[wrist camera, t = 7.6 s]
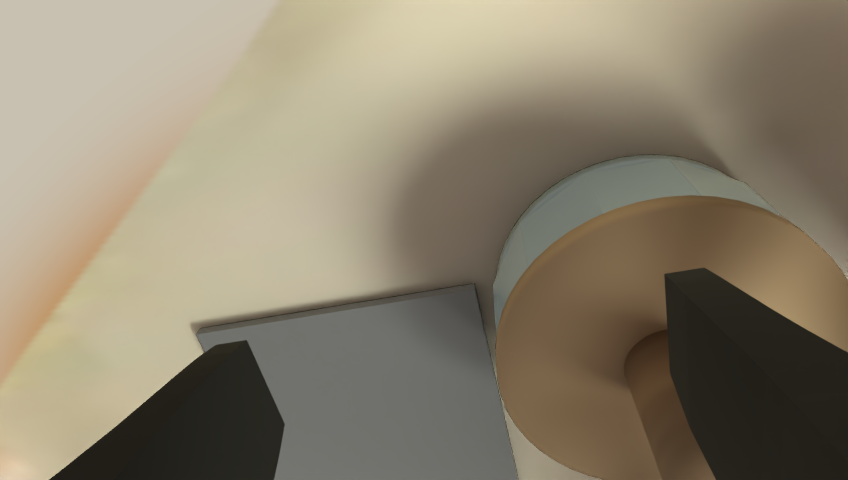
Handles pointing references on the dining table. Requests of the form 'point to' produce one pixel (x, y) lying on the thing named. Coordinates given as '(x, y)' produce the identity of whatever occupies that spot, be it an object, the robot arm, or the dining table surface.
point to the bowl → (605, 205)
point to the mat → (382, 389)
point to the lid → (643, 327)
